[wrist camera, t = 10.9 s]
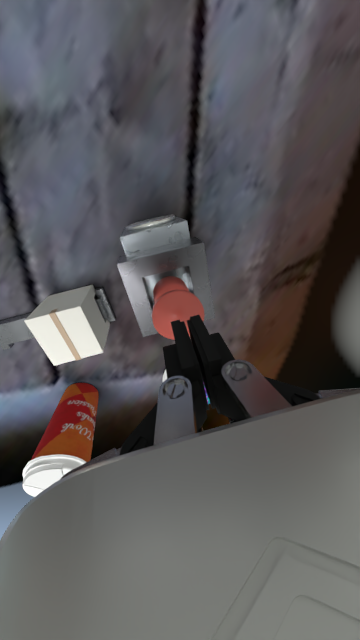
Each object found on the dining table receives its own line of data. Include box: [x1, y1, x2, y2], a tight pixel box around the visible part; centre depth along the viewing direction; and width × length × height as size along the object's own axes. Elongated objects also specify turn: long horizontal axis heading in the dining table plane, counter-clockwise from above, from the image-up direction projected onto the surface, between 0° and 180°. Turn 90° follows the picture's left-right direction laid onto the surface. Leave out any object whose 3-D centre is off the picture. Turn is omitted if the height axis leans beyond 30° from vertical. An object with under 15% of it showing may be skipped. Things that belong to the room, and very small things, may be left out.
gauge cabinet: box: [117, 215, 215, 337], centre depth 24 cm, size 10×7×12 cm
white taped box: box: [24, 285, 110, 366], centre depth 27 cm, size 6×6×7 cm
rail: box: [0, 287, 116, 350], centre depth 30 cm, size 5×16×2 cm, turn 102°
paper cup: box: [23, 383, 99, 497], centre depth 32 cm, size 8×8×14 cm
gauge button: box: [152, 276, 204, 340], centre depth 17 cm, size 4×4×5 cm
